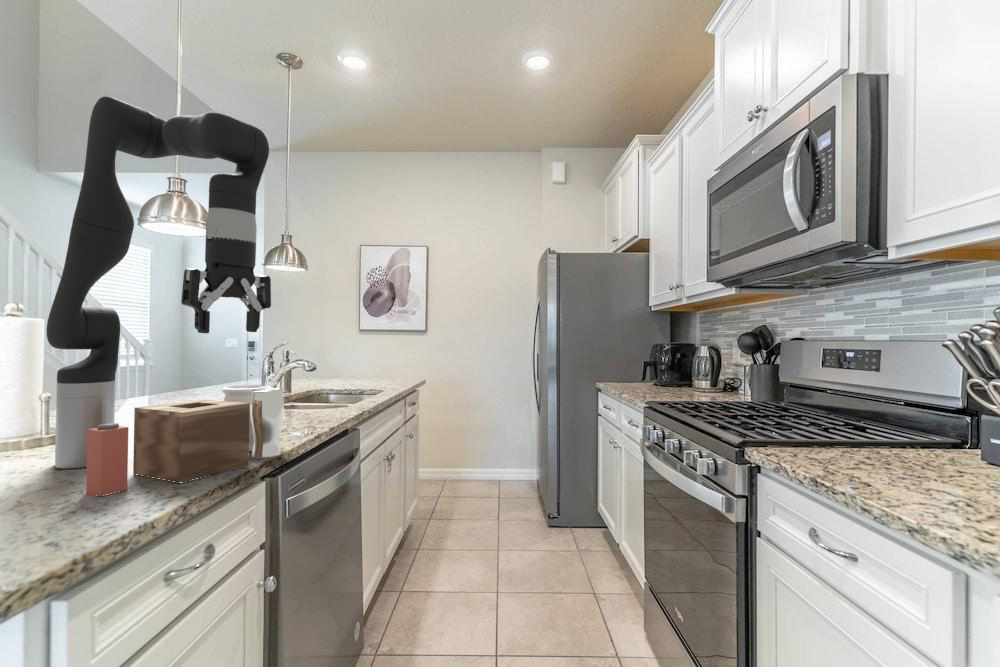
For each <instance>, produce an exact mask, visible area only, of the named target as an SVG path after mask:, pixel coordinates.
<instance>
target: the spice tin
mask: <svg viewBox="0 0 1000 667" xmlns="http://www.w3.org/2000/svg"><path fill="white" fill-rule="evenodd" d="M128 465H129V426H123V425H120V424H119V423H118V422H114V423H108V424H101V425H98V428H93V429H88V430H87V467H86V478H85V479H86V480H85V481H86V482H85V483H86V485H85V486H86V487H85V494H86V493H87V494H86V495H88V494H91V495H90V496H92V495H97V496H103V495H106V494H110V493H114V492H118V491H122V490H126V491H128V477H129V476H128V468H129V467H128ZM122 492H123V491H122ZM118 493H119V492H118ZM114 494H115V493H114ZM97 496H96V497H97ZM103 497H104V496H103Z"/></svg>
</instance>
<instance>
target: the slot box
mask: <svg viewBox="0 0 1000 667" xmlns="http://www.w3.org/2000/svg"><path fill="white" fill-rule="evenodd" d="M133 412H134V413H133V414H134V419H133V422H134V424H133V468H132V469H133V472H132V474H138V475H143V476H149V477H154V478H160V479H165V480H170V481H175V482H185V481H189V480H192V479H196V478H200V477H203V478H205V477H204V476H207V477H209V476H208V475H211V476H213V475H212V474H214V475H217V474H216V473H218V474H221V473H224V471H225V472H228V471H232V470H236V469H238V468H242V467H243V468H244V467H245V466H248V465H250V464H249V462H250V459H249V458H250V457H249V455H250V451H249V412H250V403H242V402H230V401H224V400H217V399H215V400H214V399H205V398H204V399H198V400H197V399H196V400H189V401H179V402H171V403H170V402H169V403H165V404H164V403H163V404H156V405H155V404H154V405H145V406H137V407H134V411H133ZM220 472H221V473H220ZM143 476H142V477H143ZM200 479H201V478H200ZM196 480H197V479H196ZM189 482H190V481H189Z"/></svg>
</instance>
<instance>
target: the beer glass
mask: <svg viewBox="0 0 1000 667" xmlns="http://www.w3.org/2000/svg"><path fill="white" fill-rule="evenodd" d="M284 410H285V400H284V389H283V388H279V387H278V388H276V387H275V388H273V387H271V388H266V389H255V390H251V398H250V421H251V427H252V432H253V449H252V451H251V455H250V457H251V458H252V459H254V460H268V459H274V458H278V457H280V456H281V455H282V450H281V444H280V435H281V429H282V425H283V420H284V412H285V411H284Z"/></svg>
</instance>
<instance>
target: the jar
mask: <svg viewBox="0 0 1000 667" xmlns="http://www.w3.org/2000/svg"><path fill="white" fill-rule="evenodd" d="M266 388H272V386H271V385H265V384H246V385H245V384H244V385H232V386H231V385H230V386H225V387H223V388H222V392H223V394H224V397H223V401H230V402H242V403H250V398H251V390H255V389H266ZM252 449H253V432H252V427H251V421H250V412H249V452H252Z"/></svg>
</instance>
